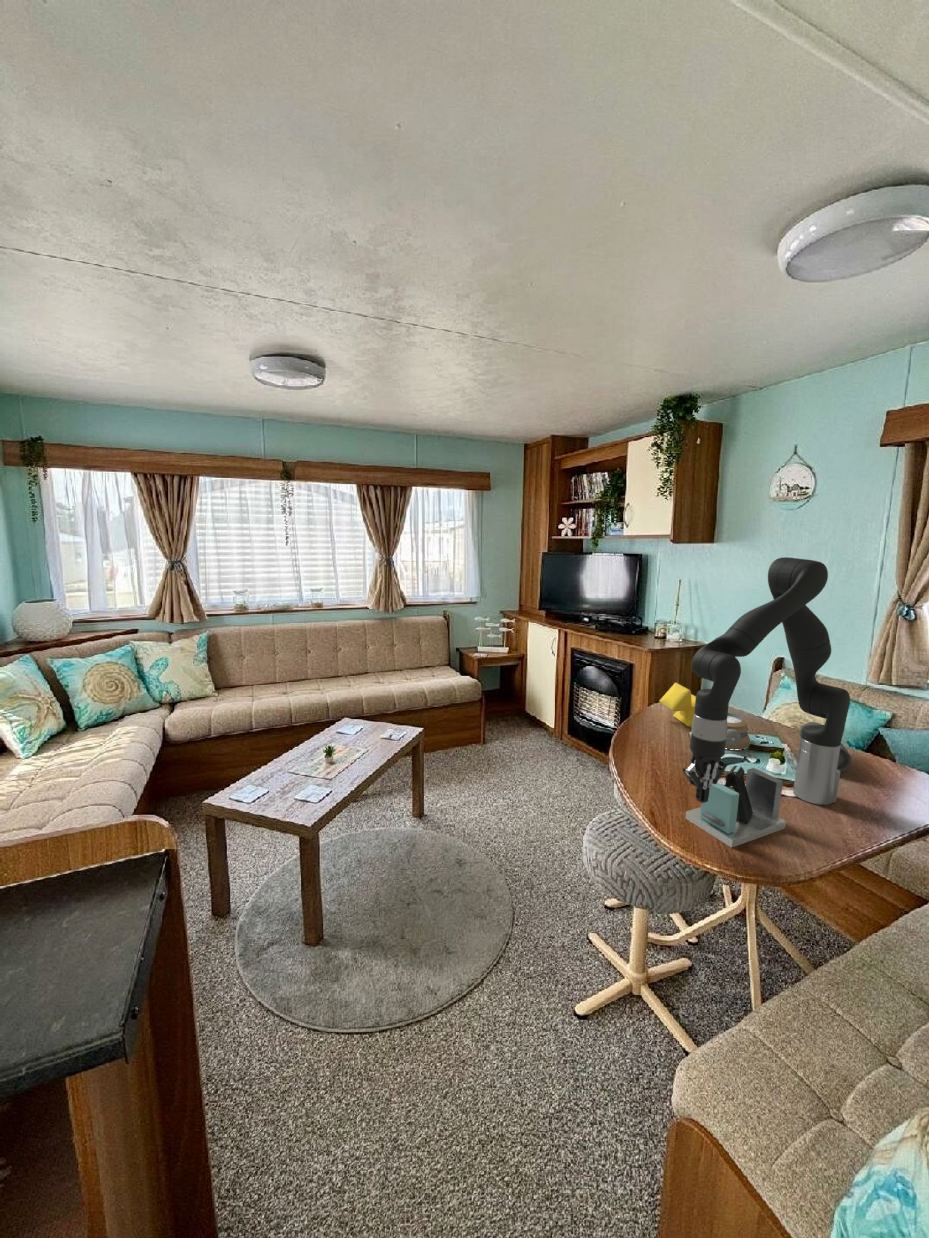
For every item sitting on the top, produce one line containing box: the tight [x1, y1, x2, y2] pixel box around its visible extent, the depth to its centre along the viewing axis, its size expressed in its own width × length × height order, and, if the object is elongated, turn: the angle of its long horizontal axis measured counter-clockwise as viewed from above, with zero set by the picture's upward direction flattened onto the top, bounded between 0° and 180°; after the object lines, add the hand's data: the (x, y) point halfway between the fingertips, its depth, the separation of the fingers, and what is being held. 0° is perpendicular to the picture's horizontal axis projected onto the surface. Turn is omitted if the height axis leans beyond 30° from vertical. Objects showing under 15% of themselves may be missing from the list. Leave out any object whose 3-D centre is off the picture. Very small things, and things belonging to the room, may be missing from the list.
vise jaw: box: [700, 781, 739, 834], centre depth 122 cm, size 8×4×10 cm, turn 25°
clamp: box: [659, 682, 696, 729], centre depth 197 cm, size 14×25×12 cm
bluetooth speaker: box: [799, 721, 852, 772], centre depth 164 cm, size 23×9×10 cm, turn 160°
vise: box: [685, 767, 787, 849], centre depth 127 cm, size 14×20×12 cm
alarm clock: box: [725, 712, 751, 749], centre depth 178 cm, size 17×9×23 cm
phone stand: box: [723, 765, 753, 824], centre depth 128 cm, size 9×6×12 cm, turn 48°
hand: (701, 800), depth 120 cm, fingers closed
